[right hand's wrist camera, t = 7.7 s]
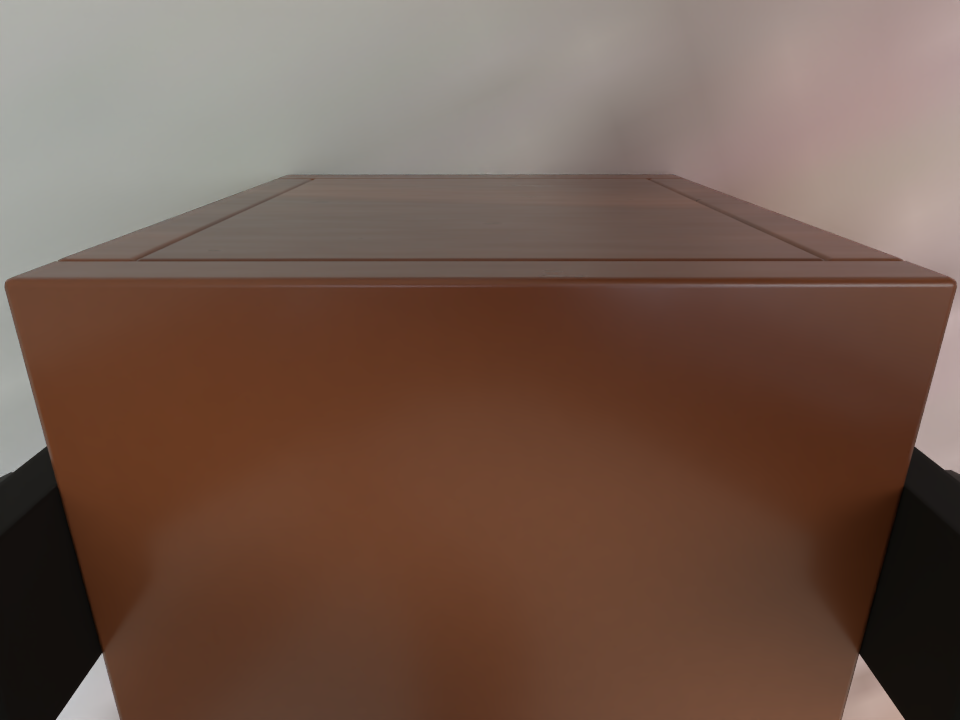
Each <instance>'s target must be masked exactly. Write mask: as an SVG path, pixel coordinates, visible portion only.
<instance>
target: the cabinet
mask: <svg viewBox="0 0 960 720" xmlns="http://www.w3.org/2000/svg"><path fill="white" fill-rule="evenodd" d="M956 288H957V285H956V281H955V280H954V279H952V278H950V277H948V276H945V275H943V274H940V273H937V272H934V271H932V270H929V269H926V268H924V267H921V266H918V265H916V264H913V263H910V262H907V261H903V260H902V259H900V258H897V257H895V256H892V255H889V254H887V253H884V252H881V251H878V250H876V249H873V248H870V247H868V246H865V245H862V244H860V243H857V242H854V241H851V240H849V239H846V238H843V237H841V236H838V235H835V234H832V233H830V232H827V231H824V230H822V229H819V228H816V227H814V226H811V225H808V224H805V223H803V222H800V221H797V220H795V219H792V218H789V217H786V216H784V215H781V214H778V213H776V212H773V211H770V210H768V209H765V208H762V207H759V206H757V205H754V204H751V203H749V202H746V201H743V200H740V199H738V198H735V197H732V196H730V195H727V194H724V193H721V192H719V191H716V190H713V189H711V188H708V187H705V186H703V185H700V184H697V183H694V182H692V181H689V180H686V179H683V178H681V177H678V176H676V175H286V176H284V177H281V178H278V179H276V180H273V181H270V182H267V183H265V184H262V185H259V186H257V187H254V188H251V189H249V190H246V191H243V192H240V193H238V194H235V195H232V196H230V197H227V198H224V199H222V200H219V201H216V202H213V203H211V204H208V205H205V206H203V207H200V208H197V209H195V210H192V211H189V212H186V213H184V214H181V215H178V216H176V217H173V218H170V219H167V220H165V221H162V222H159V223H157V224H154V225H151V226H149V227H146V228H143V229H140V230H138V231H135V232H132V233H130V234H127V235H124V236H122V237H119V238H116V239H113V240H111V241H108V242H105V243H103V244H100V245H97V246H95V247H92V248H89V249H86V250H84V251H81V252H78V253H76V254H73V255H70V256H68V257H65V258H62V259H60V260H58V261H55V262H52V263H50V264H47V265H44V266H42V267H39V268H36V269H34V270H31V271H28V272H25V273H23V274H20V275H17V276H15V277H12V278H10V279H8V280H7V281H6V282H5V291H6V295H7V298H8V302H9V306H10V309H11V313H12V317H13V321H14V324H15V328H16V332H17V336H18V339H19V343H20V347H21V351H22V354H23V358H24V362H25V366H26V369H27V373H28V377H29V381H30V384H31V388H32V392H33V395H34V399H35V403H36V407H37V410H38V414H39V418H40V422H41V425H42V429H43V433H44V437H45V440H46V444H47V448H48V452H49V455H50V459H51V463H52V467H53V470H54V474H55V478H56V481H57V485H58V489H59V493H60V496H61V500H62V504H63V508H64V511H65V515H66V519H67V523H68V526H69V530H70V534H71V538H72V541H73V545H74V549H75V553H76V556H77V560H78V564H79V567H80V571H81V575H82V579H83V582H84V586H85V590H86V594H87V597H88V601H89V605H90V609H91V612H92V616H93V620H94V624H95V627H96V631H97V635H98V639H99V642H100V646H101V650H102V653H103V657H104V661H105V665H106V668H107V672H108V676H109V680H110V683H111V687H112V691H113V695H114V698H115V702H116V706H117V710H118V713H119V717H120V720H841V719H842V716H843V712H844V708H845V704H846V701H847V697H848V693H849V689H850V686H851V682H852V678H853V674H854V671H855V667H856V663H857V659H858V656H859V652H860V648H861V644H862V641H863V637H864V633H865V629H866V626H867V622H868V618H869V614H870V611H871V607H872V603H873V599H874V596H875V592H876V588H877V584H878V581H879V577H880V573H881V569H882V566H883V562H884V558H885V554H886V551H887V547H888V543H889V539H890V536H891V532H892V528H893V524H894V521H895V517H896V513H897V509H898V506H899V502H900V498H901V494H902V491H903V487H904V483H905V479H906V476H907V472H908V468H909V464H910V461H911V457H912V453H913V449H914V446H915V442H916V438H917V434H918V431H919V427H920V423H921V419H922V416H923V412H924V408H925V404H926V401H927V397H928V393H929V389H930V386H931V382H932V378H933V374H934V371H935V367H936V363H937V359H938V356H939V352H940V348H941V344H942V341H943V337H944V333H945V329H946V326H947V322H948V318H949V314H950V311H951V307H952V303H953V299H954V296H955V292H956Z"/></svg>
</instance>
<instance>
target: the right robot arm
mask: <svg viewBox="0 0 960 720" xmlns="http://www.w3.org/2000/svg"><path fill="white" fill-rule="evenodd" d="M101 654H102V650H101V646H100V642H99V639H98V635H97V631H96V627H95V624H94V620H93V616H92V612H91V609H90V605H89V601H88V597H87V594H86V590H85V586H84V582H83V579H82V575H81V571H80V567H79V564H78V560H77V556H76V553H75V549H74V545H73V541H72V538H71V534H70V530H69V526H68V523H67V519H66V515H65V511H64V508H63V504H62V500H61V496H60V493H59V489H58V485H57V481H56V478H55V474H54V470H53V467H52V463H51V459H50V455H49V452H48V448H47V447H45V448H44V449H43V450H41V451H40V452H39V453H38V454H36V455H35V456H34V457H32V458H31V459H30V460H29V461H27V462H26V463H25V464H23V465H22V466H21V467H20V468H18V469H17V470H16V471H15V472H11V473H8V474H6V475H4V476H2V477H0V720H56V719H57V717H58V716H59V714H60V713H61V711H62V710H63V708H64V707H65V706H66V704H67V703H68V701H69V700H70V698H71V697H72V695H73V694H74V693H75V691H76V690H77V688H78V687H79V685H80V684H81V682H82V681H83V680H84V678H85V677H86V675H87V674H88V672H89V671H90V669H91V668H92V667H93V665H94V664H95V662H96V661H97V659H98V658H99V656H100V655H101ZM859 654H860V655H861V657H862V658H863V660H864V661H865V663H866V664H867V665H868V667H869V668H870V670H871V671H872V673H873V674H874V676H875V677H876V678H877V680H878V681H879V683H880V684H881V686H882V687H883V689H884V690H885V691H886V693H887V694H888V696H889V697H890V699H891V700H892V702H893V703H894V704H895V706H896V707H897V709H898V710H899V712H900V713H901V715H902V716H903V717H904V719H905V720H960V474H958V473H956V472H954V471H952V470H944V469H942V468H941V467H940V466H939V465H937V464H936V463H935V462H934V461H932V460H931V459H930V458H928V457H927V456H926V455H925V454H923V453H922V452H921V451H919V450H918V449H917V448H916V447H914V449H913V453H912V457H911V461H910V464H909V468H908V472H907V476H906V479H905V483H904V487H903V491H902V494H901V498H900V502H899V506H898V509H897V513H896V517H895V521H894V524H893V528H892V532H891V536H890V539H889V543H888V547H887V551H886V554H885V558H884V562H883V566H882V569H881V573H880V577H879V581H878V584H877V588H876V592H875V596H874V599H873V603H872V607H871V611H870V614H869V618H868V622H867V626H866V629H865V633H864V637H863V641H862V644H861V648H860V652H859Z"/></svg>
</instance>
